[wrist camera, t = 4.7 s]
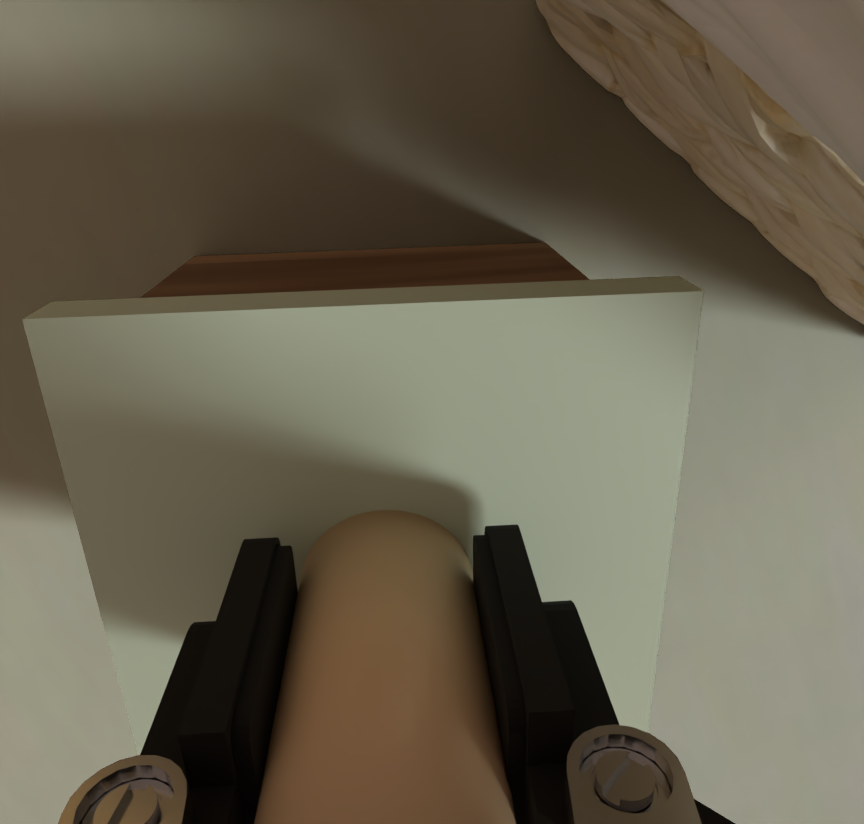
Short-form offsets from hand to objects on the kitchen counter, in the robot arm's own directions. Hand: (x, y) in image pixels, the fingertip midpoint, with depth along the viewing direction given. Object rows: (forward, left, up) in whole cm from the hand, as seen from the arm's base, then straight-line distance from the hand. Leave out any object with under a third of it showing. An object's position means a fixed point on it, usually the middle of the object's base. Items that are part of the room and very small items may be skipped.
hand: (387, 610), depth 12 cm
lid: (0, 0, -3) cm, 3 cm away
